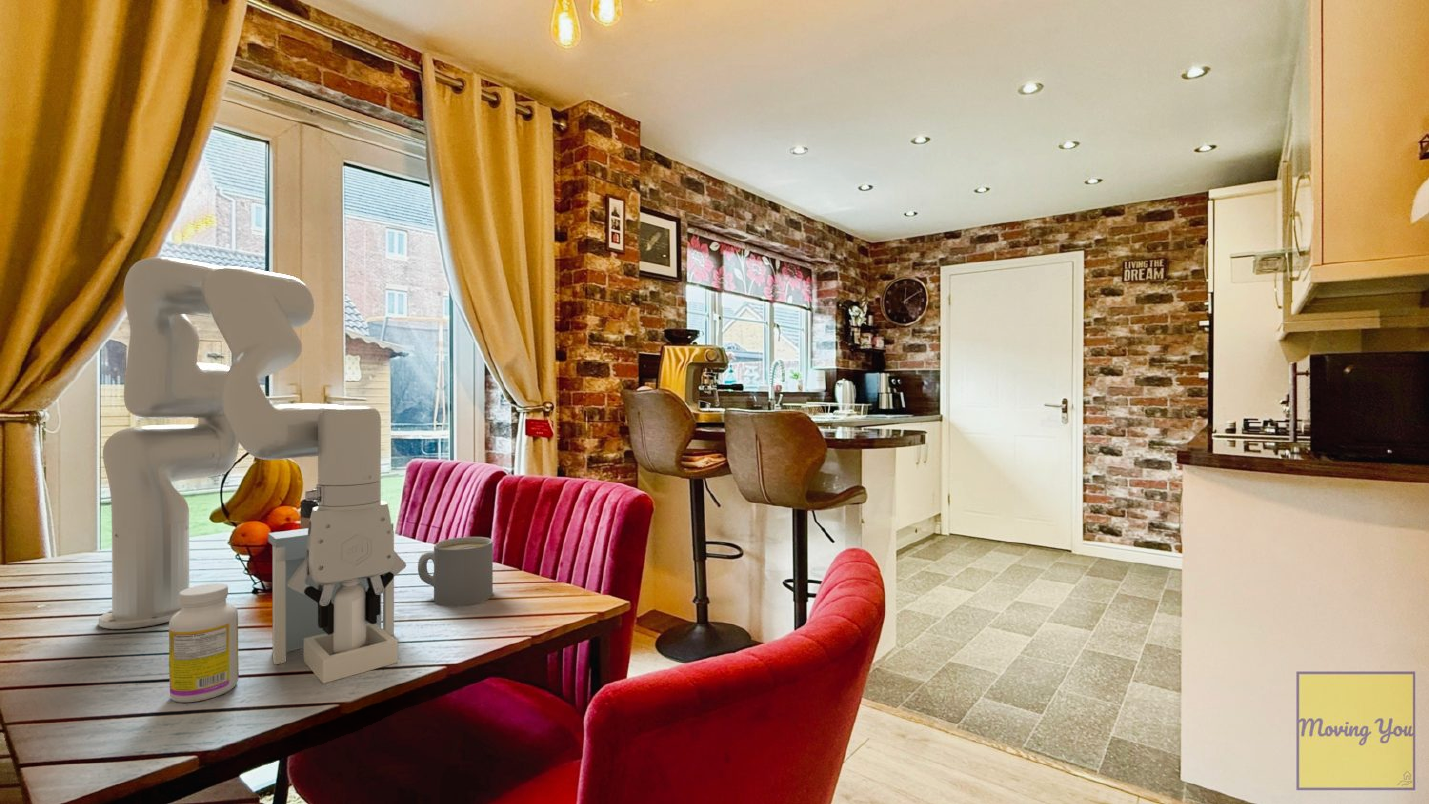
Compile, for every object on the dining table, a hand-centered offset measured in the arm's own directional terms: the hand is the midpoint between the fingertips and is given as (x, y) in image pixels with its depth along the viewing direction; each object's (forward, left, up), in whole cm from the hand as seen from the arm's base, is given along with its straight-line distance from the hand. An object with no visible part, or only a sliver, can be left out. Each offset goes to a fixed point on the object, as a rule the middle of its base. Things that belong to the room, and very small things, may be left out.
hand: (349, 625), depth 86 cm
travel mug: (-19, +2, -5) cm, 20 cm away
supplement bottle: (-3, -15, -5) cm, 17 cm away
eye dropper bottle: (0, 0, -3) cm, 3 cm away
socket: (0, 0, -5) cm, 5 cm away
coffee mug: (-17, +22, -5) cm, 29 cm away
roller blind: (-8, 0, -5) cm, 10 cm away
